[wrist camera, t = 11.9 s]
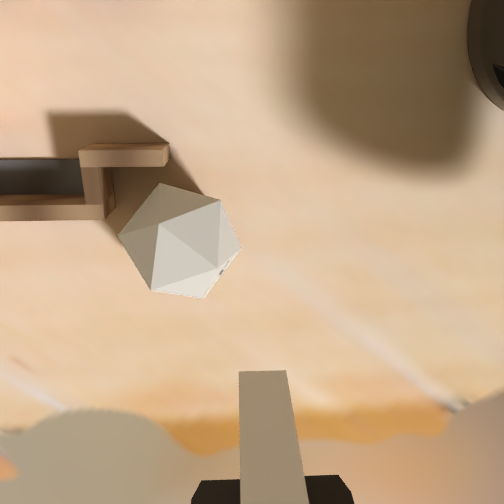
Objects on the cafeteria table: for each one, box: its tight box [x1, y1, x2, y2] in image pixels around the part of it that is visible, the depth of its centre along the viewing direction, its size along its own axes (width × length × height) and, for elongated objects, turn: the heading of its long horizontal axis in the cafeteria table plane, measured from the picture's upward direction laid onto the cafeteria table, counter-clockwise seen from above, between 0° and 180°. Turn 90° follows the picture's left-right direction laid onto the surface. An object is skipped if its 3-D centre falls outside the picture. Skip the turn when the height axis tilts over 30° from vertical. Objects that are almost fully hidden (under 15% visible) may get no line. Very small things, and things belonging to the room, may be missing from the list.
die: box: [117, 183, 242, 299], centre depth 34 cm, size 8×9×10 cm
